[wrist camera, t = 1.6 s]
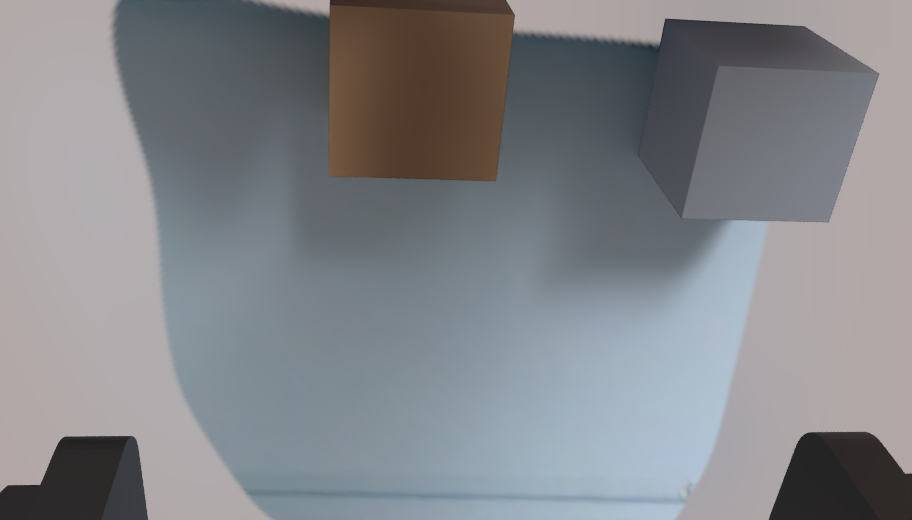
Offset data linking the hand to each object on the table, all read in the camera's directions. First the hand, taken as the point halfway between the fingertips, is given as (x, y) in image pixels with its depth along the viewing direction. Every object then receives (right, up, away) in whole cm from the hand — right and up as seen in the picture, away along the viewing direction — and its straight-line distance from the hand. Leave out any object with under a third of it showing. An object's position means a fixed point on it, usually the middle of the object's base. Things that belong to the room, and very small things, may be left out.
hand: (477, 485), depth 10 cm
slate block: (+8, +8, +17) cm, 21 cm away
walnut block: (-2, +9, +15) cm, 18 cm away
